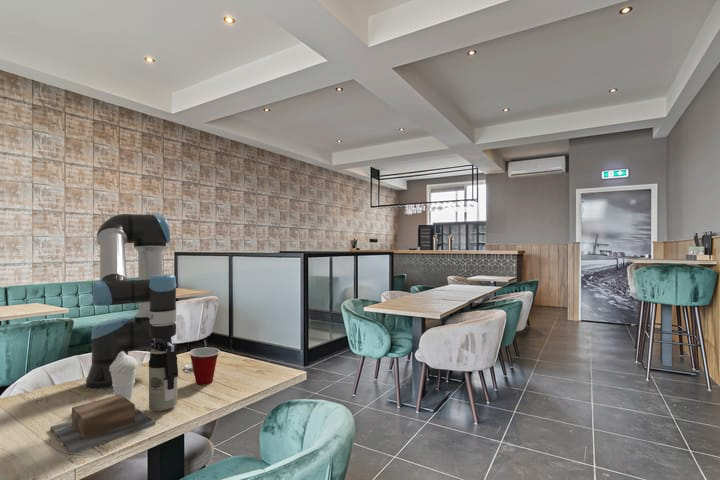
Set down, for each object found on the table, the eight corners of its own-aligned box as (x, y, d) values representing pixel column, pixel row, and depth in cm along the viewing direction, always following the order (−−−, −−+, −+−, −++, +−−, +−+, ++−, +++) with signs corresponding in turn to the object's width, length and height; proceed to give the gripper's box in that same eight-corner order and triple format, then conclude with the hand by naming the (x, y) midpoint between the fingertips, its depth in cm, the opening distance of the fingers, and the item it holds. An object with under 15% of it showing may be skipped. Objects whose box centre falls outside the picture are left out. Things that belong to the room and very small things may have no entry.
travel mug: (164, 399, 125) (164, 344, 125) (183, 402, 122) (182, 346, 122) (143, 409, 117) (142, 351, 117) (162, 413, 114) (161, 353, 114)
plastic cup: (209, 388, 136) (209, 355, 136) (182, 387, 138) (182, 354, 138) (225, 378, 146) (225, 347, 147) (200, 376, 148) (200, 346, 149)
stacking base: (50, 430, 106) (50, 408, 106) (129, 406, 121) (129, 387, 122) (70, 454, 93) (69, 430, 93) (155, 424, 109) (155, 403, 109)
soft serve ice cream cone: (143, 395, 130) (143, 349, 130) (121, 405, 122) (121, 356, 122) (125, 393, 133) (125, 347, 133) (102, 402, 125) (102, 353, 125)
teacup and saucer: (181, 370, 158) (181, 360, 158) (200, 365, 164) (200, 356, 164) (188, 375, 152) (188, 365, 152) (208, 370, 157) (208, 360, 157)
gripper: (137, 321, 123) (137, 391, 123) (165, 330, 110) (165, 408, 110) (161, 317, 129) (161, 384, 129) (190, 326, 116) (190, 400, 116)
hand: (163, 395), depth 119 cm, fingers closed on travel mug, 8 cm apart
